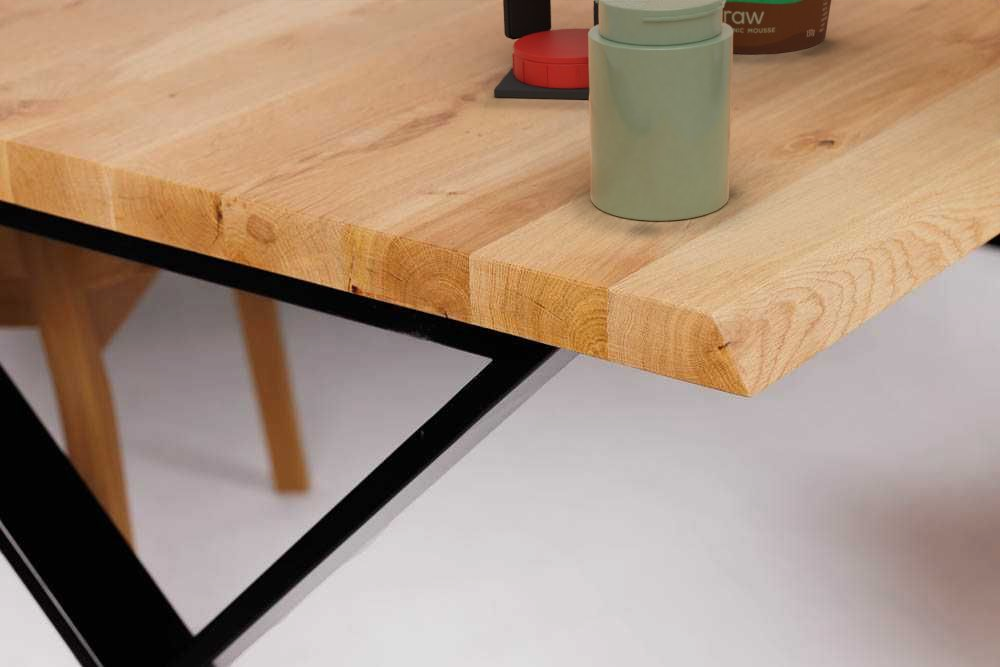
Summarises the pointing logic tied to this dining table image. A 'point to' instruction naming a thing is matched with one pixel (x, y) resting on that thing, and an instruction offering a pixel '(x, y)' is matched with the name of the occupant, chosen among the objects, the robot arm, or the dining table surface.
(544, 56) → the lid
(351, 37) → the dining table surface
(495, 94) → the mat
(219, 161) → the dining table surface
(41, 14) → the dining table surface
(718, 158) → the jar
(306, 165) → the dining table surface
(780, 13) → the food container
